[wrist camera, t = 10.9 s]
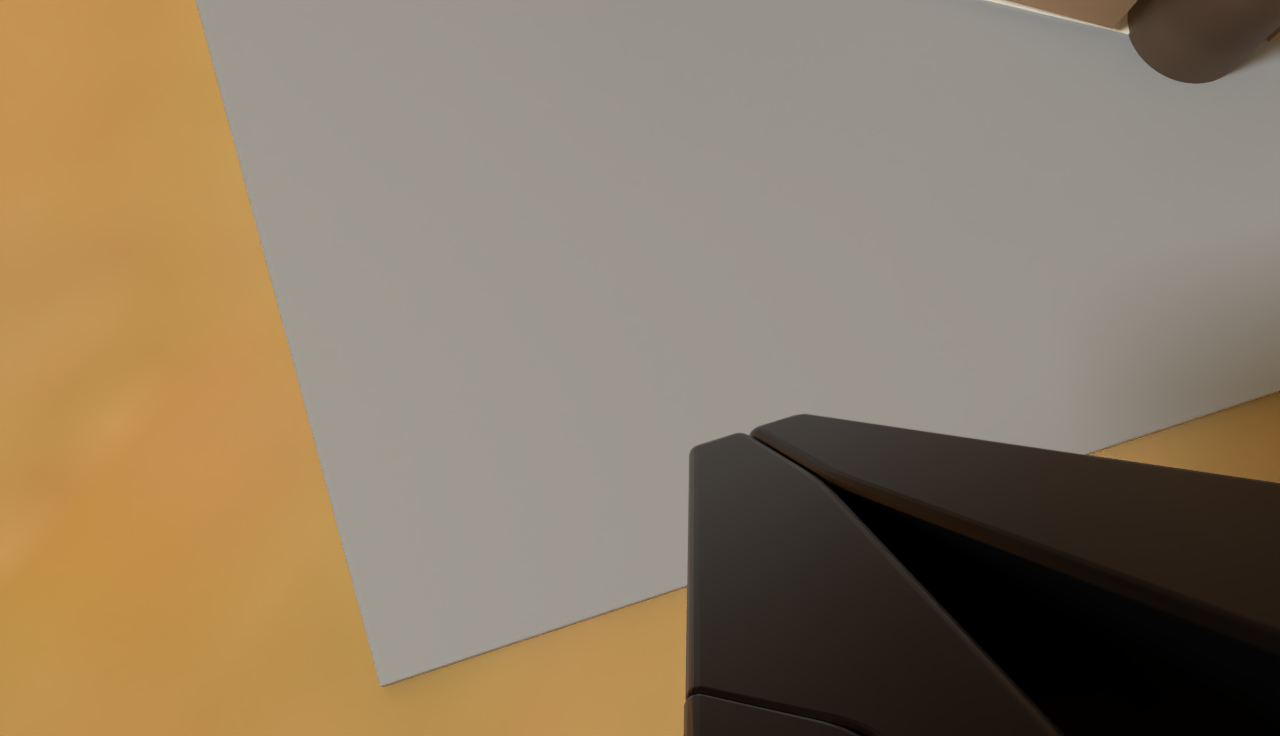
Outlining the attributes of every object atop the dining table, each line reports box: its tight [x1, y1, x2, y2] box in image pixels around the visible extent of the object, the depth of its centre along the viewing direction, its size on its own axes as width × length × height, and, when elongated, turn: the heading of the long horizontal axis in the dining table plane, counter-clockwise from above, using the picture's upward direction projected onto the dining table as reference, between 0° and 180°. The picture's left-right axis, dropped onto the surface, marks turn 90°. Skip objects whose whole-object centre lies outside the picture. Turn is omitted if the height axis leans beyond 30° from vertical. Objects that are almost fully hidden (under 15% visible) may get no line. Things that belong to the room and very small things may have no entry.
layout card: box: [196, 0, 1280, 687], centre depth 20 cm, size 12×25×1 cm, turn 108°
